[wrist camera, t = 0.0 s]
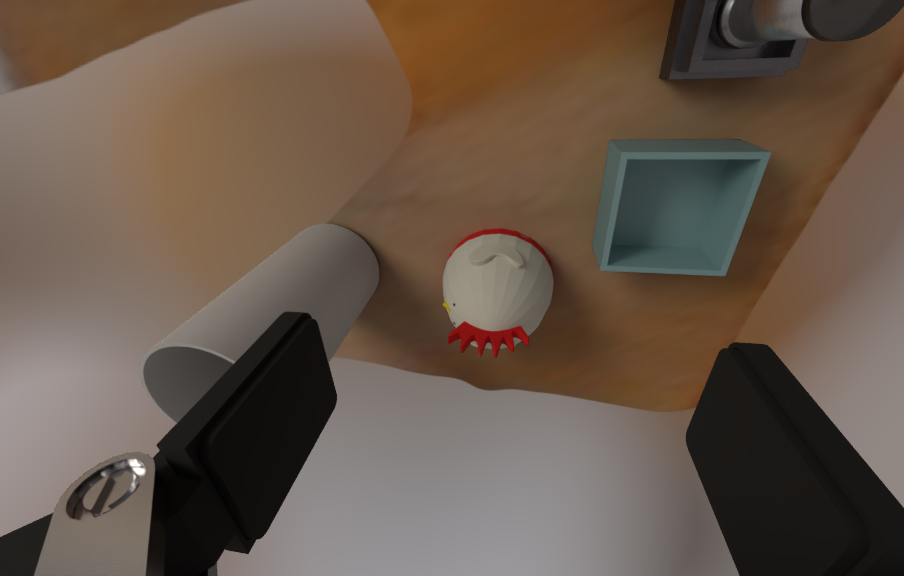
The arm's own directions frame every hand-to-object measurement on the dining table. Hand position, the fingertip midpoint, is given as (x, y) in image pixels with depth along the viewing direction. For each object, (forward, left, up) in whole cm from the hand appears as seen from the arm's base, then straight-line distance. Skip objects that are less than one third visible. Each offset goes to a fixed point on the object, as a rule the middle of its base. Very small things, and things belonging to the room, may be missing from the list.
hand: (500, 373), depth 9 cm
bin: (+7, +15, -37) cm, 40 cm away
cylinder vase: (+17, -24, -37) cm, 47 cm away
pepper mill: (-9, +17, -34) cm, 39 cm away
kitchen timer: (+18, -2, -37) cm, 41 cm away
